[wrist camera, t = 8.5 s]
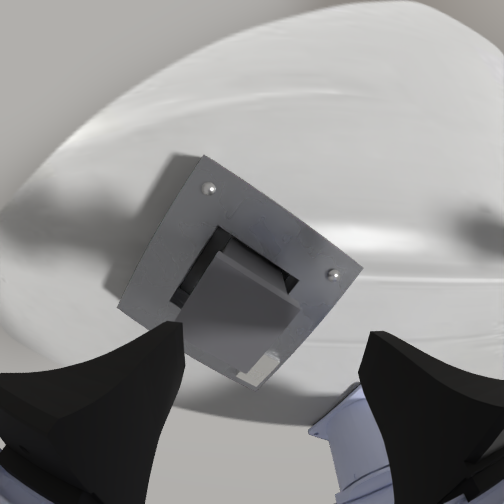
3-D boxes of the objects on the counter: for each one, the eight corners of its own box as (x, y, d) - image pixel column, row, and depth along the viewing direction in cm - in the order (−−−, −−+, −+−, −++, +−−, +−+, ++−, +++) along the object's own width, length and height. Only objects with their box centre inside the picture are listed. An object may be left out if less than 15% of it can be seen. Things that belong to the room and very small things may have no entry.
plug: (286, 266, 19) (300, 309, 12) (249, 315, 20) (246, 374, 13) (230, 230, 19) (215, 255, 12) (196, 282, 20) (168, 330, 13)
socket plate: (351, 257, 19) (366, 270, 16) (256, 372, 21) (255, 395, 18) (210, 158, 17) (202, 153, 15) (130, 294, 20) (113, 310, 17)
